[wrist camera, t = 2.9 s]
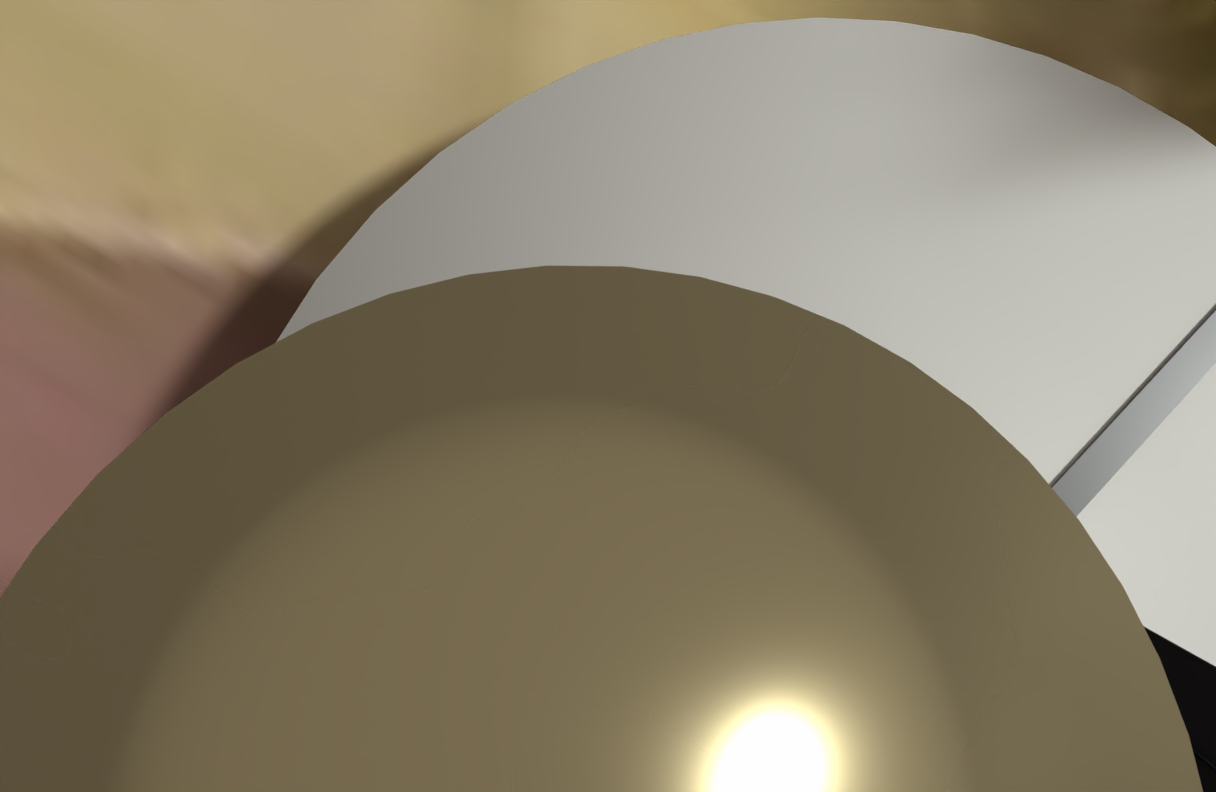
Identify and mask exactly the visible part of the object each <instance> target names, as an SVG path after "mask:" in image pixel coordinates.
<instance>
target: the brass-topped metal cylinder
mask: <svg viewBox="0 0 1216 792" xmlns="http://www.w3.org/2000/svg"><path fill="white" fill-rule="evenodd" d="M0 792H1203V789H1202V785H1201V781H1200V777H1199V773H1198V769H1197V765H1196V762H1195V758H1194V754H1193V750H1192V746H1191V742H1190V738H1189V735H1188V732H1187V729H1186V727H1185V724H1184V721H1183V719H1182V716H1181V713H1180V711H1179V708H1178V705H1177V703H1176V700H1175V697H1174V695H1173V692H1172V689H1171V687H1170V684H1169V681H1168V679H1167V676H1166V674H1165V671H1164V668H1163V666H1162V663H1161V660H1160V658H1159V656H1158V654H1157V652H1156V650H1155V648H1154V646H1153V644H1152V642H1151V640H1150V638H1149V636H1148V634H1147V632H1146V630H1145V628H1144V626H1143V625H1142V623H1141V621H1140V619H1139V617H1138V615H1137V613H1136V611H1135V609H1134V607H1133V605H1132V603H1131V601H1130V599H1129V597H1128V595H1127V593H1126V591H1125V589H1124V587H1123V586H1122V584H1121V583H1120V581H1119V580H1118V578H1117V576H1116V575H1115V573H1114V572H1113V570H1112V569H1111V567H1110V566H1109V564H1108V563H1107V561H1106V560H1105V558H1104V557H1103V555H1102V554H1101V552H1100V551H1099V549H1098V548H1097V546H1096V545H1095V543H1094V542H1093V540H1092V539H1091V537H1090V536H1089V534H1088V533H1087V531H1086V530H1085V528H1084V527H1083V525H1082V524H1081V522H1080V521H1079V519H1078V518H1077V517H1076V516H1075V515H1074V513H1073V512H1072V511H1071V510H1070V509H1069V508H1068V506H1067V505H1066V504H1065V503H1064V502H1063V500H1062V499H1061V498H1060V497H1059V496H1058V495H1057V493H1056V492H1055V491H1054V490H1053V489H1052V487H1051V486H1050V485H1049V484H1048V483H1047V482H1046V480H1045V479H1044V478H1043V477H1042V476H1041V474H1040V473H1039V472H1038V471H1037V470H1036V468H1035V467H1034V466H1033V465H1032V464H1031V463H1030V461H1029V460H1028V459H1027V458H1026V457H1025V456H1023V455H1022V454H1021V453H1020V452H1019V451H1018V450H1017V449H1016V448H1015V447H1014V446H1013V445H1012V444H1011V443H1010V442H1009V441H1007V440H1006V439H1005V438H1004V437H1003V436H1002V435H1001V434H1000V433H999V432H998V431H997V430H996V429H995V428H994V427H992V426H991V425H990V424H989V423H988V422H987V421H986V420H985V419H984V418H983V417H982V416H981V415H980V414H979V413H977V412H976V411H975V410H974V409H973V408H972V407H971V406H969V405H968V404H967V403H965V402H964V401H963V400H961V399H960V398H958V397H957V396H956V395H954V394H953V393H952V392H950V391H949V390H948V389H946V388H945V387H943V386H942V385H941V384H939V383H938V382H937V381H935V380H934V379H933V378H931V377H930V376H928V375H927V374H926V373H924V372H923V371H922V370H920V369H919V368H917V367H916V366H915V365H913V364H912V363H911V362H909V361H907V360H905V359H904V358H902V357H900V356H898V355H896V354H895V353H893V352H891V351H889V350H888V349H886V348H884V347H882V346H880V345H879V344H877V343H875V342H873V341H871V340H870V339H868V338H866V337H864V336H863V335H861V334H859V333H857V332H855V331H854V330H852V329H850V328H848V327H846V326H845V325H842V324H840V323H837V322H835V321H833V320H830V319H828V318H825V317H823V316H820V315H818V314H815V313H813V312H810V311H808V310H806V309H803V308H801V307H798V306H796V305H793V304H791V303H788V302H786V301H784V300H781V299H779V298H776V297H774V296H770V295H766V294H762V293H759V292H755V291H751V290H748V289H744V288H740V287H736V286H733V285H729V284H725V283H721V282H718V281H714V280H710V279H707V278H703V277H698V276H691V275H683V274H676V273H669V272H662V271H654V270H647V269H640V268H633V267H625V266H538V267H529V268H521V269H512V270H503V271H495V272H486V273H477V274H469V275H464V276H460V277H456V278H452V279H448V280H444V281H440V282H436V283H432V284H428V285H423V286H419V287H415V288H411V289H407V290H403V291H399V292H395V293H391V294H388V295H385V296H382V297H380V298H377V299H375V300H372V301H369V302H367V303H364V304H362V305H359V306H356V307H354V308H351V309H348V310H346V311H343V312H341V313H338V314H335V315H333V316H330V317H328V318H325V319H322V320H320V321H317V322H314V323H312V324H310V325H308V326H306V327H304V328H302V329H301V330H299V331H297V332H295V333H293V334H291V335H289V336H287V337H285V338H284V339H282V340H280V341H278V342H276V343H274V344H272V345H270V346H269V347H267V348H265V349H263V350H261V351H259V352H257V353H255V354H254V355H252V356H250V357H248V358H246V359H244V360H242V361H240V362H239V363H237V364H235V365H234V366H232V367H231V368H229V369H228V370H227V371H225V372H224V373H222V374H221V375H219V376H218V377H217V378H215V379H214V380H212V381H211V382H210V383H208V384H207V385H205V386H204V387H202V388H201V389H200V390H198V391H197V392H195V393H194V394H192V395H191V396H190V397H188V398H187V399H185V400H184V401H182V402H181V403H180V404H178V405H177V406H175V407H174V408H173V409H171V410H170V411H168V412H167V413H165V414H164V415H163V416H162V417H161V418H160V419H158V420H157V421H156V422H155V423H154V424H153V425H152V426H151V427H150V428H148V429H147V430H146V431H145V432H144V433H143V434H142V435H141V436H140V437H139V438H137V439H136V440H135V441H134V442H133V443H132V444H131V445H130V446H129V447H127V448H126V449H125V450H124V451H123V452H122V453H121V454H120V455H119V456H118V457H116V458H115V459H114V460H113V461H112V462H111V463H110V464H109V465H108V466H106V467H105V468H104V469H103V470H102V471H101V472H100V473H99V474H98V475H97V476H96V477H95V478H94V479H93V480H92V481H91V482H90V484H89V485H88V486H87V487H86V488H85V489H84V490H83V492H82V493H81V494H80V495H79V496H78V497H77V499H76V500H75V501H74V502H73V503H72V504H71V505H70V507H69V508H68V509H67V510H66V511H65V512H64V514H63V515H62V516H61V517H60V518H59V519H58V521H57V522H56V523H55V524H54V525H53V526H52V527H51V529H50V530H49V531H48V532H47V533H46V534H45V536H44V537H43V538H42V539H41V540H40V541H39V542H38V544H37V545H36V546H35V547H34V549H33V550H32V552H31V553H30V555H29V556H28V558H27V559H26V561H25V562H24V564H23V565H22V567H21V568H20V569H19V571H18V572H17V574H16V575H15V577H14V578H13V580H12V581H11V583H10V584H9V586H8V587H7V589H6V590H5V592H4V593H3V595H2V596H1V598H0Z"/></svg>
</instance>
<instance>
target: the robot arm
mask: <svg viewBox="0 0 1216 792" xmlns="http://www.w3.org/2000/svg"><path fill="white" fill-rule="evenodd" d="M1144 628H1145V630H1146V632H1147V634H1148V636H1149V638H1150V640H1151V642H1152V644H1153V646H1154V648H1155V650H1156V652H1157V654H1158V656H1159V658H1160V660H1161V663H1162V666H1163V668H1164V671H1165V674H1166V676H1167V679H1168V681H1169V684H1170V687H1171V689H1172V692H1173V695H1174V697H1175V700H1176V703H1177V705H1178V708H1179V711H1180V713H1181V716H1182V719H1183V721H1184V724H1185V727H1186V729H1187V732H1188V735H1189V738H1190V742H1191V746H1192V750H1193V754H1194V758H1195V762H1196V765H1197V769H1198V773H1199V777H1200V781H1201V785H1202V789H1203V792H1216V666H1214V665H1212V664H1211V663H1209V662H1207V661H1205V660H1203V659H1202V658H1200V657H1198V656H1196V655H1194V654H1193V653H1191V652H1189V651H1187V650H1186V649H1184V648H1182V647H1180V646H1178V645H1177V644H1175V643H1173V642H1171V641H1169V640H1168V639H1166V638H1164V637H1162V636H1161V635H1159V634H1157V633H1155V632H1153V631H1152V630H1150V629H1148V628H1146V627H1144Z"/></svg>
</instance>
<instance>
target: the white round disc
mask: <svg viewBox="0 0 1216 792" xmlns="http://www.w3.org/2000/svg"><path fill="white" fill-rule="evenodd" d="M538 266H625V267H633V268H640V269H647V270H654V271H662V272H669V273H676V274H683V275H691V276H698V277H703V278H707V279H710V280H714V281H718V282H721V283H725V284H729V285H733V286H736V287H740V288H744V289H748V290H751V291H755V292H759V293H762V294H766V295H770V296H774V297H776V298H779V299H781V300H784V301H786V302H788V303H791V304H793V305H796V306H798V307H801V308H803V309H806V310H808V311H810V312H813V313H815V314H818V315H820V316H823V317H825V318H828V319H830V320H833V321H835V322H837V323H840V324H842V325H845V326H846V327H848V328H850V329H852V330H854V331H855V332H857V333H859V334H861V335H863V336H864V337H866V338H868V339H870V340H871V341H873V342H875V343H877V344H879V345H880V346H882V347H884V348H886V349H888V350H889V351H891V352H893V353H895V354H896V355H898V356H900V357H902V358H904V359H905V360H907V361H909V362H911V363H912V364H913V365H915V366H916V367H917V368H919V369H920V370H922V371H923V372H924V373H926V374H927V375H928V376H930V377H931V378H933V379H934V380H935V381H937V382H938V383H939V384H941V385H942V386H943V387H945V388H946V389H948V390H949V391H950V392H952V393H953V394H954V395H956V396H957V397H958V398H960V399H961V400H963V401H964V402H965V403H967V404H968V405H969V406H971V407H972V408H973V409H974V410H975V411H976V412H977V413H979V414H980V415H981V416H982V417H983V418H984V419H985V420H986V421H987V422H988V423H989V424H990V425H991V426H992V427H994V428H995V429H996V430H997V431H998V432H999V433H1000V434H1001V435H1002V436H1003V437H1004V438H1005V439H1006V440H1007V441H1009V442H1010V443H1011V444H1012V445H1013V446H1014V447H1015V448H1016V449H1017V450H1018V451H1019V452H1020V453H1021V454H1022V455H1023V456H1025V457H1026V458H1027V459H1028V460H1029V461H1030V463H1031V464H1032V465H1033V466H1034V467H1035V468H1036V470H1037V471H1038V472H1039V473H1040V474H1041V476H1042V477H1043V478H1044V479H1045V480H1046V482H1047V483H1048V484H1049V485H1050V486H1051V487H1052V489H1053V490H1054V491H1055V492H1056V493H1057V495H1058V496H1059V497H1060V498H1061V499H1062V500H1063V502H1064V503H1065V504H1066V505H1067V506H1068V508H1069V509H1070V510H1071V511H1072V512H1073V513H1074V515H1075V516H1076V517H1077V518H1078V519H1079V521H1080V522H1081V524H1082V525H1083V527H1084V528H1085V530H1086V531H1087V533H1088V534H1089V536H1090V537H1091V539H1092V540H1093V542H1094V543H1095V545H1096V546H1097V548H1098V549H1099V551H1100V552H1101V554H1102V555H1103V557H1104V558H1105V560H1106V561H1107V563H1108V564H1109V566H1110V567H1111V569H1112V570H1113V572H1114V573H1115V575H1116V576H1117V578H1118V580H1119V581H1120V583H1121V584H1122V586H1123V587H1124V589H1125V591H1126V593H1127V595H1128V597H1129V599H1130V601H1131V603H1132V605H1133V607H1134V609H1135V611H1136V613H1137V615H1138V617H1139V619H1140V621H1141V623H1142V625H1143V626H1144V627H1146V628H1148V629H1150V630H1152V631H1153V632H1155V633H1157V634H1159V635H1161V636H1162V637H1164V638H1166V639H1168V640H1169V641H1171V642H1173V643H1175V644H1177V645H1178V646H1180V647H1182V648H1184V649H1186V650H1187V651H1189V652H1191V653H1193V654H1194V655H1196V656H1198V657H1200V658H1202V659H1203V660H1205V661H1207V662H1209V663H1211V664H1212V665H1214V666H1216V147H1215V146H1214V145H1213V144H1211V143H1210V142H1208V141H1207V140H1206V139H1204V138H1203V137H1202V136H1200V135H1199V134H1197V133H1196V132H1195V131H1193V130H1192V129H1191V128H1189V127H1188V126H1186V125H1184V124H1183V123H1181V122H1179V121H1177V120H1176V119H1174V118H1172V117H1170V116H1169V115H1167V114H1165V113H1163V112H1162V111H1160V110H1158V109H1156V108H1155V107H1153V106H1151V105H1149V104H1148V103H1146V102H1144V101H1142V100H1141V99H1139V98H1137V97H1135V96H1134V95H1132V94H1130V93H1128V92H1127V91H1125V90H1123V89H1121V88H1120V87H1117V86H1115V85H1113V84H1110V83H1108V82H1106V81H1103V80H1101V79H1099V78H1096V77H1094V76H1092V75H1089V74H1087V73H1085V72H1082V71H1080V70H1078V69H1075V68H1073V67H1071V66H1068V65H1066V64H1064V63H1061V62H1059V61H1057V60H1054V59H1052V58H1050V57H1047V56H1044V55H1041V54H1037V53H1034V52H1030V51H1027V50H1024V49H1020V48H1017V47H1014V46H1010V45H1007V44H1004V43H1000V42H997V41H994V40H990V39H987V38H983V37H980V36H977V35H973V34H968V33H962V32H956V31H950V30H945V29H939V28H933V27H927V26H921V25H915V24H910V23H904V22H898V21H882V20H861V19H839V18H805V19H792V20H779V21H766V22H754V23H741V24H735V25H730V26H725V27H721V28H716V29H711V30H706V31H701V32H697V33H692V34H687V35H682V36H677V37H673V38H668V39H663V40H659V41H657V42H654V43H651V44H648V45H645V46H642V47H639V48H636V49H634V50H631V51H628V52H625V53H622V54H619V55H616V56H614V57H611V58H608V59H605V60H602V61H599V62H596V63H593V64H591V65H588V66H585V67H583V68H581V69H579V70H577V71H575V72H573V73H571V74H569V75H567V76H565V77H563V78H561V79H559V80H557V81H555V82H553V83H551V84H549V85H547V86H545V87H543V88H541V89H539V90H537V91H535V92H533V93H531V94H529V95H527V96H525V97H523V98H521V99H519V100H517V101H515V102H513V103H511V104H510V105H508V106H507V107H505V108H504V109H502V110H501V111H499V112H498V113H496V114H495V115H494V116H492V117H491V118H489V119H488V120H486V121H485V122H483V123H482V124H480V125H479V126H477V127H476V128H475V129H473V130H472V131H470V132H469V133H467V134H466V135H464V136H463V137H461V138H460V139H458V140H457V141H456V142H454V143H453V144H451V145H450V146H448V147H447V148H445V149H444V150H442V151H441V152H440V153H438V154H437V155H436V156H435V157H434V158H433V159H432V160H431V161H430V162H428V163H427V164H426V165H425V166H424V167H423V168H422V169H421V170H420V171H418V172H417V173H416V174H415V175H414V176H413V177H412V178H411V179H410V180H408V181H407V182H406V183H405V184H404V185H403V186H402V187H401V188H400V189H398V190H397V191H396V192H395V193H394V194H393V195H392V196H391V197H390V198H388V199H387V200H386V201H385V202H384V203H383V204H382V205H381V206H380V207H378V208H377V209H376V210H375V211H374V212H373V213H372V215H371V216H370V217H369V218H368V219H367V221H366V222H365V223H364V224H363V225H362V226H361V228H360V229H359V230H358V231H357V232H356V233H355V235H354V236H353V237H352V238H351V239H350V241H349V242H348V243H347V244H346V245H345V246H344V248H343V249H342V250H341V251H340V252H339V253H338V255H337V256H336V257H335V258H334V259H333V260H332V262H331V263H330V264H329V265H328V266H327V268H326V269H325V270H324V271H323V272H322V273H321V275H320V276H319V277H318V278H317V279H316V281H315V282H314V284H313V285H312V287H311V288H310V290H309V292H308V293H307V295H306V296H305V298H304V299H303V301H302V302H301V304H300V306H299V307H298V309H297V310H296V312H295V313H294V315H293V316H292V318H291V320H290V321H289V323H288V324H287V326H286V327H285V329H284V330H283V332H282V334H281V335H280V337H279V338H278V340H277V341H276V342H278V341H280V340H282V339H284V338H285V337H287V336H289V335H291V334H293V333H295V332H297V331H299V330H301V329H302V328H304V327H306V326H308V325H310V324H312V323H314V322H317V321H320V320H322V319H325V318H328V317H330V316H333V315H335V314H338V313H341V312H343V311H346V310H348V309H351V308H354V307H356V306H359V305H362V304H364V303H367V302H369V301H372V300H375V299H377V298H380V297H382V296H385V295H388V294H391V293H395V292H399V291H403V290H407V289H411V288H415V287H419V286H423V285H428V284H432V283H436V282H440V281H444V280H448V279H452V278H456V277H460V276H464V275H469V274H477V273H486V272H495V271H503V270H512V269H521V268H529V267H538Z"/></svg>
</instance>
